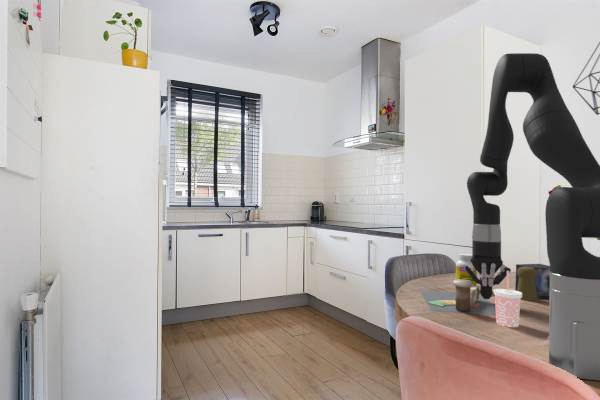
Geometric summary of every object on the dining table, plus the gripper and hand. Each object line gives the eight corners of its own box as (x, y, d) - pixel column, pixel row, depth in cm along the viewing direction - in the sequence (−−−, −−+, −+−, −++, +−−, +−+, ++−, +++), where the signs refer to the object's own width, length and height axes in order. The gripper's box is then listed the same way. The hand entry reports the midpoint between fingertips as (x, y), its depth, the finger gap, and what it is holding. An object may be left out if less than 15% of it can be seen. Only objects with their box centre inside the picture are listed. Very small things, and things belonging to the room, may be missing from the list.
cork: (541, 306, 109) (542, 269, 109) (519, 304, 110) (520, 268, 110) (533, 300, 115) (533, 266, 115) (512, 299, 116) (512, 265, 116)
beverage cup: (487, 326, 89) (487, 269, 90) (504, 323, 92) (504, 268, 92) (510, 334, 84) (511, 273, 84) (527, 331, 86) (528, 272, 86)
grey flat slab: (507, 320, 94) (507, 314, 94) (431, 314, 98) (431, 309, 98) (480, 297, 118) (480, 292, 118) (419, 293, 121) (419, 289, 121)
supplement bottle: (456, 292, 124) (457, 255, 124) (454, 288, 130) (454, 252, 130) (478, 294, 122) (478, 256, 122) (474, 290, 128) (475, 253, 128)
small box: (531, 300, 116) (531, 267, 116) (514, 295, 122) (514, 264, 122) (556, 298, 118) (557, 266, 118) (538, 293, 125) (539, 263, 125)
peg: (470, 312, 95) (470, 283, 95) (451, 309, 98) (451, 281, 98) (484, 299, 108) (485, 274, 109) (467, 297, 111) (468, 272, 112)
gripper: (465, 240, 104) (465, 300, 104) (516, 241, 102) (515, 303, 102) (459, 237, 112) (459, 294, 112) (506, 238, 109) (506, 296, 109)
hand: (486, 298), depth 107 cm, fingers closed
